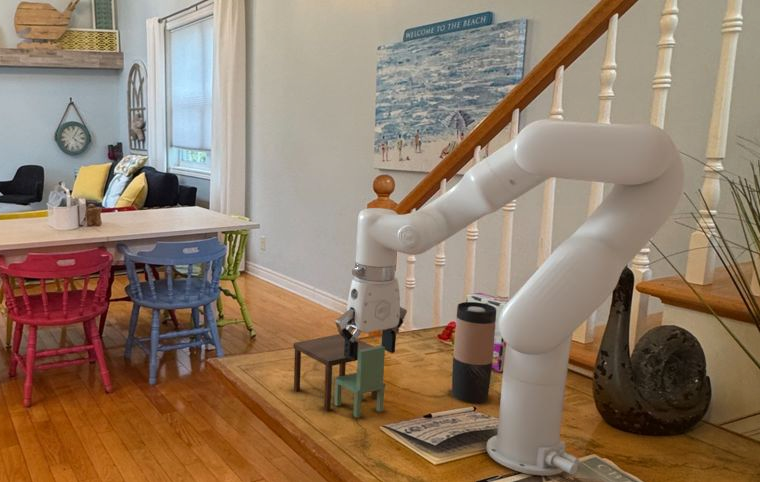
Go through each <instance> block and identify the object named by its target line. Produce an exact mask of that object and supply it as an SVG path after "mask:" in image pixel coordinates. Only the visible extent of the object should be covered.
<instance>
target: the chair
mask: <svg viewBox="0 0 760 482" xmlns="http://www.w3.org/2000/svg"><path fill="white" fill-rule="evenodd" d="M385 354H386V350H385V347H383V346H381V344H380V345H376V346H374V347H371V348H366V349H362V350H358V360H357V361H356V362H357V365H356V368H357V369H356V372H353V373H350V374H349V373H348V374H345V376H340V377H339V376H336V377H334V399H333V400H334V401H333V404H334V406H336V407H340V406H342V388H344V389H346V390H348V391H349V392H351V393H353V394H354V396H353V397H354V398H353V399H354V400H353V417H354V418H356V419H359V418H361V413H362V411H361V410H362V401H364V394H369V393H371V392H372V391H376V390H377V398H376V408H375V410H376V411H377V412H379V413H381V412H384V406H385V405H384V404H385V403H384V402H385V389H386V383H385V382H384V378H385V377H384V376H385V375H384V373H385V359H386V358H385V356H386V355H385Z"/></svg>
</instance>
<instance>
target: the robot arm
mask: <svg viewBox="0 0 760 482" xmlns="http://www.w3.org/2000/svg"><path fill="white" fill-rule="evenodd" d="M551 178H555V179H562V180H563V179H564V180H574V181H585V182H595V183H603V184H604V183H605V184H614V185H613V187H612V189H611V191H610V192H608V195H607V196H605V198H604V199H603V200H602V201H601V202H600V204H599V205H597V207H596V208H595V209H594V211H593V212H592V213H591V214H590V216H588V218H586V220H584V222H583V223H582V224H581V225H580V227H578V228H577V229H576V231H574V232H573V233H572V234H571V236H569V237H568V238H567V239H566V240H564V241H563V242H561V243H560V244H558V246H557V247H556V248H555V249H554V250H553V252H551V254H550V255H549V256H548V257H547V259H546V260H545V261H544V262H543V263H542V264H541V265H540V266H539V268H538V269H536V271H535V272H533V275H531V276H530V277H529V278H528V280H527V281H526V282H525V283H524V284H523V286H521V287H520V288H519V289H518V290H516V291H515V293H514V294H513V295H512V296H511V297H510V298H509V299H508V303H507V304H506V305H505V306H504V307H503V309H502V311H501V313H500V316H499V331H500V334H501V336H502V338H503V340H504V341H505V342H506V349H505V358H504V369H503V371H502V377H501V387H500V388H501V390H500V401H499V412H498V422H497V434H496V435H494V436H491V437H490V438H488V439H487V441H486V448H485V449H486V452H487V454H488V456H489V457H490V458H491V459H493V460H494V461H495V462H496V463H498V464H500V465H501V466H503V467H505V468H507V469H510V470H512V471H516V472H519V473H523V474H528V475H531V476H532V475H533V476H544V477H545V476H546V477H547V476H548V477H549V476H554V475H559V474H561V473H563V472H565V473H567V474H569V475H572V476H574V475H575V474H577V472H578V468H579V466H578V465H579V464H580V459H579V458H578V457H577V456H574V455H572V454H569V453H567V451H566V445H567V443H566V441H564V440H561V439H560V438H561V429H562V421H563V420H562V418H563V412H564V411H563V410H564V401H565V392H566V383H567V379H568V370H569V361H570V353H571V346H572V340H573V334H574V332H576V330H578V329H579V327H581V326H582V325H583V323H585V322H586V321H587V320H588V319H589V317H590V316H592V315H593V314H594V313H595V312H596V311H597V309H599V307H601V306H602V305H603V303H604V302H605V301H606V300H607V299H608V298H609V296H610V295H611V294H612V293H613V292H614V290H615V289H616V287H617V285H618V283H619V281H620V277H621V275H622V273H623V271H624V269H625V268H626V267H627V266H628V264H630V262H631V261H632V260H633V259H635V257H636V256H637V255H638V254H639V253H640V252H641V251H642V250H643V249H644V248H645V247H646V245H648V243H649V242H650V240H651V239H652V238H654V236H656V234H657V233H658V232H659V231H660V230H661V228H663V226H665V224H666V223H667V221H668V220H669V219H670V218H671V217H672V215H673V214H674V212H675V211H676V209H677V207H678V204H679V202H680V200H681V197H682V194H683V190H684V184H685V167H684V162H683V159H682V157H681V153H680V152H679V150H678V147H677V146H676V144H675V142H674V140H673V138H672V137H671V136H670V135H669V134H668V132H666V131H665V130H664V129H663V128H662V127H659V126H657V125H654V124H651V123H642V122H641V123H640V122H639V123H632V124H631V123H608V122H607V123H606V122H603V123H602V122H585V121H573V120H572V121H569V120H564V119H561V118H557V117H556V118H542V119H538V120H535V121H533V122H530V123H529V124H527V125H525V126H524V127H523V128H522V129H521V130H520V132H519V133H518V134H517V136H515V137H514V138H512V139H511V140H510V141H508V142H507V143H506V144H504V145H503V146H501V147H500V148H498V149H497V150H495V151H494V152H493V153H491V154H490V155H488V156H486V157H485V158H483V159H482V160H480V161H479V162H477V163H476V164H475V165H473V166H471V167H470V168H469V169H468V170H467V171H466V172H465V173H464V174H463V176H462V177H461V179H460V180H459V181H458V183H456V184H455V185H454V186H453V187H451V188H450V189H448V190H447V191H446V192H444V193H443V194H442V195H440V196H438V197H437V198H435V199H433V200H432V201H430V203H428V204H427V205H425V206H423V207H421V208H420V209H418V210H415V211H412V212H410V213H409V212H408V213H405V214H398V212H397V211H396V210H393V209H389V208H383V207H369V208H365V209H362V210H361V211H360V212H359V213H358V215H357V216H358V217H357V229H356V244H355V245H356V246H355V265H354V268H353V269H352V270H351V274H352V276H353V277H354V278H352V279H351V280H352V281H351V283H350V286H349V287H350V288H349V293H348V298H347V305H346V311H345V312H344V313H343V314H341V315H340V316H339V317H338V318H336V319H335V321H334V324H335V325H336V328H337V332H338V334H341V335H342V337H343V338H345V344H344V356H345V357H346V358H348V359H350V360H352V362H357V361H358V360H357V354H358V342H357V341H356V339H358V338H359V336H360V335H361V334H362V333H364V334H367V333H374V332H375V333H376V332H381V331H382V332H381V344H380V345H381V346H383V347H385V352H388V353H391V354H394V353H396V343H397V342H396V340H397V334H399V333H400V328H401V326H403V324H404V320H405V318H406V315H407V312H408V310H407V309H405V308H404V307H402V306H401V295H400V294H401V293H400V284H399V279H398V278H397V277H396V267H397V252H398V253H402V254H406V255H411V256H417V255H421V254H424V253H426V252H427V251H430V250H431V249H432V248H434V247H436V246H438V245H440V244H442V243H443V242H445V241H446V240H448V239H449V238H451V237H453V236H454V235H456V234H457V233H459V232H461V231H462V230H464V229H465V228H467V227H469V226H470V225H472V224H473V223H475V222H477V221H478V220H480V219H482V218H483V217H485V216H487V215H489V214H493V213H496V212H497V211H499V210H500V209H503V207H505V206H507V205H509V204H510V203H512V202H514V201H515V200H518V198H520V197H521V196H523V195H525V194H526V193H528V192H530V191H531V190H533V189H534V188H536V187H537V186H539V185H540V184H542V183H544V182H546V181H548V180H549V179H551ZM356 360H357V361H356Z"/></svg>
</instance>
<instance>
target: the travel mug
mask: <svg viewBox="0 0 760 482" xmlns="http://www.w3.org/2000/svg"><path fill="white" fill-rule="evenodd" d="M495 323H496V308H495V307H493V306H491V305H488V304H484V303H477V302H466V301H464V302H460V303H458V304H457V309H456V318H455V330H454V331H455V332H454V340H453V341H454V342H453V354H452V373H451V374H452V375H451V376H452V377H451V395H452V396H453V397H454V398H455V399H457V400H459V401H462V402H465V403H470V404H481V403H482V404H483V403H485V402H487V401H488V399H489V392H490V384H491V379H492V378H491V377H492V371H493V369H492V361H493V349H494V336H495Z"/></svg>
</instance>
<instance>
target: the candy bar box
mask: <svg viewBox="0 0 760 482" xmlns="http://www.w3.org/2000/svg"><path fill="white" fill-rule="evenodd" d="M508 301H509V299H504V298H501V297H497V296H493V295H489V294H486V293H482V292H476V293H470V294H467V295H466V300H465V302H477V303H484V304H488V305H491V306H493V307H495V308H496V323H495V336H494V349H493V361H492V371H495V372H498V373H503V369H504V358H505V349H506V342H505V341H504V340H503V338H502V336H501V334H500V331H499V316H500V313H501V311H502V309H503V307H504V306H505V305H506V304H507V303H508Z"/></svg>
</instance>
